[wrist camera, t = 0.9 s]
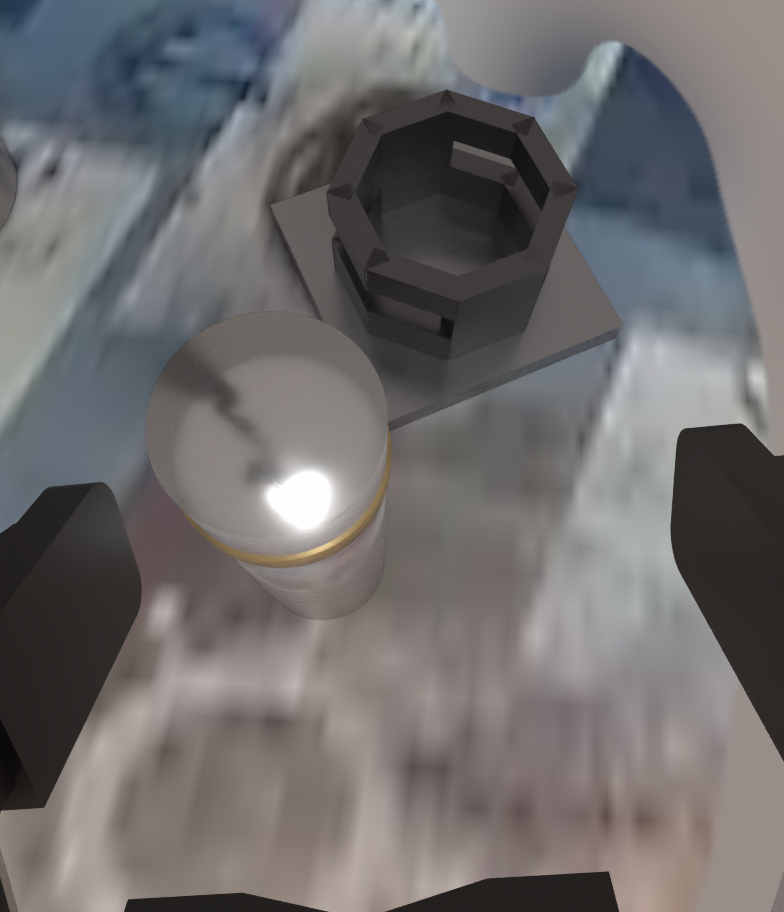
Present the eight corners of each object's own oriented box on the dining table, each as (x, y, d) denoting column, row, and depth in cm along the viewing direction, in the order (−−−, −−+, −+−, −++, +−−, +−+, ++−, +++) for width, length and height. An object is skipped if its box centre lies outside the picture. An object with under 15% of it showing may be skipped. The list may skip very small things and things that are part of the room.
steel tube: (242, 526, 31) (107, 359, 16) (357, 478, 32) (334, 274, 16) (287, 644, 30) (188, 584, 14) (407, 590, 30) (434, 480, 15)
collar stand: (273, 220, 36) (252, 124, 30) (498, 139, 37) (520, 32, 31) (374, 437, 32) (372, 377, 26) (615, 337, 34) (665, 260, 28)
